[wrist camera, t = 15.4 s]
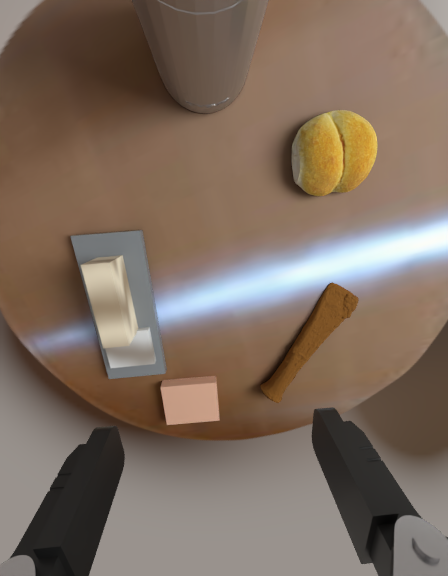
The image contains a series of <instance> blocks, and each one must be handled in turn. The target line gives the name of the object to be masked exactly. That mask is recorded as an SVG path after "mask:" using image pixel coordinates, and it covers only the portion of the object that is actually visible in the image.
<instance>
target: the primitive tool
mask: <svg viewBox="0 0 448 576" xmlns="http://www.w3.org/2000/svg"><path fill="white" fill-rule="evenodd" d="M357 303H358V297H356V296H354V295H353V294H352V293H351V292H349V291H348V290H346V289H344V288H343V287H341V286H339V285H337V284H334V283H330V284H329V285H328V286H327V288H326V289H325V291H324V293H323V294H322V295H321V297H320V299H319V301H318V303H317V305H316V306H315V308H314V310H313V312H312V314H311V316H310V318H309V319H308V321H307V322H306V324H305V325H304V327H303V329H302V331H301V333H300V334H299V336H298V337H297V339H296V341H295V342H294V344H293V345H292V347H291V349H290V350H289V352H288V353H287V355H286V357H285V358H284V360H283V362H282V363H281V364H280V366H279V367H278V369H277V370H276V372H275V373H274V375H273V376H272V377H271V378H270V379H269V380H268V381H267V382H265V383H263V384H261V385H260V387H261V390H262V392H263V393H264V395H265V396H266V397H267V398H269V399H270V400H272V401H274V402H276V403H279V402H280V401H281V400H282V395H283V393H284V391H285V389H286V388H287V386H288V385H289V384H290V383H291V382H292V380H293V379H294V378H295V376H296V374H297V372H298V371H299V370H300V369H301V367H302V366H303V365H304V364H305V363H306V362H307V361H308V360H309V358H310V357H311V355H312V354H313V353H314V352H315V351H316V350H317V349H318V348H319V346H320V345H321V344H322V343H323V342H324V340H325V339H326V338H327V337H328V336H329V335H330V334H331V333H332V332H333V331H334V330H335V329H336V328H337V327H338V326H339V325H340V323H341V322H343V321H344V319H345V318H349V317H350V316H351V313H352V312H353V311H354V310H355V308H356V306H357Z"/></svg>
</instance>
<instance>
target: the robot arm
mask: <svg viewBox="0 0 448 576" xmlns="http://www.w3.org/2000/svg"><path fill="white" fill-rule="evenodd" d="M132 2H133V5H134V7H135V10H136V13H137V15H138V18H139V21H140V23H141V26H142V29H143V31H144V34H145V36H146V39H147V42H148V44H149V47H150V50H151V52H152V55H153V58H154V61H155V63H156V66H157V69H158V71H159V74H160V76H161V79H162V81H163V83H164V85H165V87H166V89H167V91H168V92H169V93H170V95H171V96H172V97H173V98H174V99H175V100H176V101H177V102H178V103H179V104H180V105H182V106H183V107H185V108H187V109H188V110H191V111H194V112H197V113H212V112H217V111H219V110H221V109H223V108H225V107H227V106H228V105H229V104H230V103H232V102H233V101H234V100H235V98H236V97H237V96H238V95H239V93H240V91H241V89H242V88H243V86H244V83H245V80H246V77H247V74H248V70H249V67H250V63H251V60H252V57H253V53H254V50H255V46H256V43H257V39H258V36H259V32H260V29H261V25H262V21H263V18H264V14H265V11H266V7H267V4H268V0H132ZM312 443H313V448H314V451H315V454H316V456H317V459H318V461H319V464H320V466H321V468H322V471H323V473H324V476H325V478H326V480H327V483H328V485H329V488H330V490H331V492H332V495H333V497H334V499H335V502H336V504H337V507H338V509H339V511H340V514H341V516H342V519H343V521H344V524H345V526H346V528H347V531H348V533H349V536H350V538H351V540H352V543H353V545H354V548H355V550H356V552H357V555H358V557H359V560H360V562H361V564H367V563H373V564H374V567H375V569H376V571H377V573H378V575H379V576H448V537H446V536H444V535H443V534H442V533H441V532H440V531H439V530H438V529H437V528H436V527H434V526H433V525H432V524H430V523H429V522H427V521H425V520H424V519H422V518H421V516H420V515H419V514H418V513H417V512H416V510H415V509H414V508H413V506H412V505H411V503H410V502H409V500H408V499H407V497H406V495H405V494H404V492H403V491H402V489H401V488H400V487H399V485H398V483H397V482H396V480H395V479H394V478H393V476H392V474H391V473H390V471H389V470H388V468H387V467H386V465H385V464H384V462H383V461H381V458H380V456H379V455H378V453H377V452H376V450H375V449H373V446H372V444H371V443H370V441H369V440H368V438H367V437H366V435H365V434H364V432H363V431H362V430H360V429H359V428H358V427H357V426H356V425H355V424H354V423H352V422H351V421H346V422H343V420H342V419H341V417H340V415H339V413H338V412H337V410H336V409H335V408H322V409H315V410H314V416H313V427H312ZM124 458H125V457H124V449H123V446H122V442H121V439H120V435H119V432H118V428H117V427H116V426H110V427H98V428H95V429H94V430H93V432H92V434H91V436H90V438H89V439H88V441H87V443H86V444H80V445H79V446H78V447H77V448H76V449H75V450H74V451H73V452H72V453H71V454H70V455H69V456H68V457H67V459H66V461H65V462H64V464H63V466H62V467H61V470H60V471H59V473H58V476H57V478H55V480H54V482H53V484H52V485H51V487H50V491H49V492H48V493H47V494H46V496H45V498H44V500H43V502H42V504H41V505H40V508H39V509H38V511H37V512H36V514H35V516H34V518H33V520H32V522H31V523H30V525H29V527H28V529H27V531H26V532H25V534H24V536H23V538H22V539H21V541H20V543H19V545H18V546H17V548H16V550H15V551H14V553H13V554H12V556H11V557H10V559H8V560H7V561H5V562H3V563H2V564H1V565H0V576H89V573H90V570H91V567H92V564H93V561H94V558H95V555H96V551H97V548H98V545H99V542H100V539H101V536H102V533H103V530H104V527H105V523H106V521H107V518H108V514H109V511H110V508H111V505H112V502H113V499H114V496H115V493H116V490H117V487H118V484H119V480H120V477H121V474H122V471H123V467H124Z"/></svg>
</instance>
